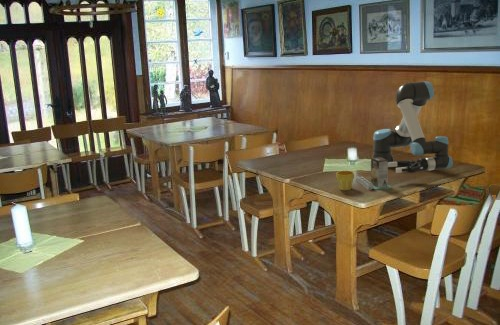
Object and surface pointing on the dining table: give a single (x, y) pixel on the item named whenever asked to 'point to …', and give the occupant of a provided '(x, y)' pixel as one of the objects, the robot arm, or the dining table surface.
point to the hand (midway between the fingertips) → (391, 167)
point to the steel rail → (365, 183)
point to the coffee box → (379, 172)
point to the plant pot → (345, 179)
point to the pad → (382, 187)
